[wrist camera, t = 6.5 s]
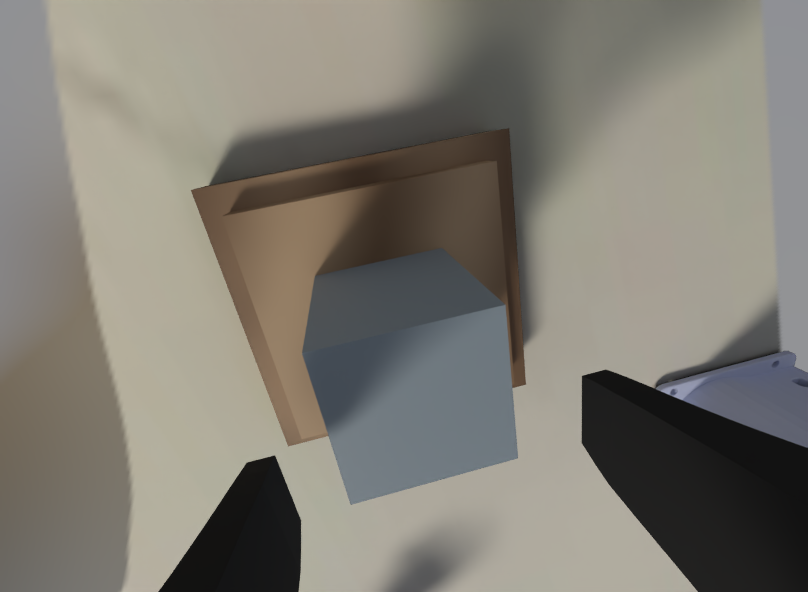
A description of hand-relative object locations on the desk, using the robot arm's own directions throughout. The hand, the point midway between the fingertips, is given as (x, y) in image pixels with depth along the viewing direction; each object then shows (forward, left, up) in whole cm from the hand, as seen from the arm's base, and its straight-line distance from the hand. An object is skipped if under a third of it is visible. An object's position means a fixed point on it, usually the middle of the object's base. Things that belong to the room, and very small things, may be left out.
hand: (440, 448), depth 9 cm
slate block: (0, 0, -7) cm, 7 cm away
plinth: (0, 0, -10) cm, 10 cm away
